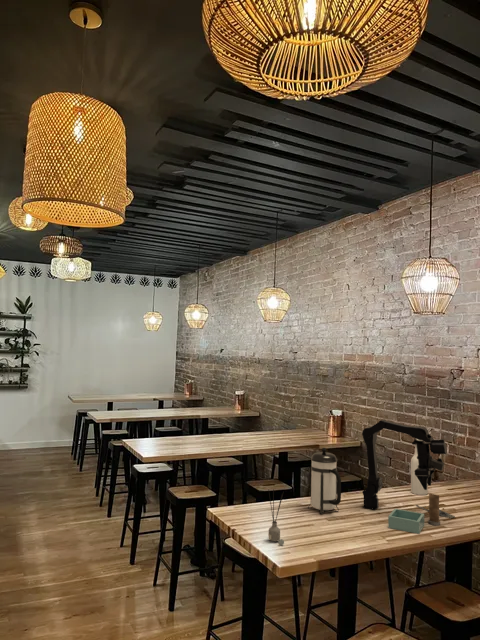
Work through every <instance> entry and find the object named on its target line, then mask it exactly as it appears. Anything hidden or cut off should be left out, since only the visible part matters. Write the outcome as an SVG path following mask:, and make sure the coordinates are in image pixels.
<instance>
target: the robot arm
mask: <svg viewBox="0 0 480 640" xmlns="http://www.w3.org/2000/svg"><path fill="white" fill-rule="evenodd" d="M383 429H385V430H389V431H392V432H398V433H400V434H401V433H402V434H405V435H408V436H409V437H412V438H414V440H413V442H411V445H415V444H416V446H417V455H418V456H417V459H418V463H419V465H418V468H417V469H416V470H415V475H416V477H417V478H418V480H419V481H420V483H421V485H422V486H423V488H424V490H427V484H428V486H430V487H431V486H432V480H433V479H432V478H433V473H434V472H436V470H438V471H440V472H442V471H443V470H444V466H445V461H444V460H443V458H440V457H439V458H438V459H434V458H433V456H432V455H431V453H432V454H433V455H447V453H448V446H447V445H446V440H445V439H444V438H441V439H434V438H433V436H431V434H430V433H429V430H428V428H426V426H421V425H420V426H417V425H406V424H402V423H397V422H393V421H389V420H386V419H382V420H379V421H378V422H377V423H375V424H373V425H371V426H368V427H366V428H364V429H363V430H362V432H361V433H362V434H361V436H362V439H363V442H364V445H365V447H366V457H367V467H368V477H367V483H366V488H365V489H363V490H362V492H361V493H362V496H363V505H362V508H364V509H369V510H374V511H375V510H377V509H378V508H379V501H380V500H379V498H378V493H379V492H380V491H381V490H382V489H383V486H384V484H383V476H380V475H379V471H378V470H379V469H378V463H377V462H378V461H377V460H378V459H377V449H376V443H377V439H378V433H379V432H381V431H382V430H383ZM417 439H418V440H423V441H418V440H417Z"/></svg>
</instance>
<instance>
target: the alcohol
mask: <svg viewBox="0 0 480 640" xmlns="http://www.w3.org/2000/svg"><path fill="white" fill-rule="evenodd" d="M417 440H418V439H417ZM418 441H423V440H418ZM414 445H415V447H414V454H413V456H412V457H411V459H410V491H411V492H410V493H412V494H414V495H417V496H427V494H429V491H428V490H429V488H428V486H429V485H428V484H427V490H424V488H423V486H422V485H421V483H420V481H419V480H418V478H417V477H416V475H415V470H416V469H417V468H418V465H419V463H418V459H417V456H418V455H417V446H416V444H414Z"/></svg>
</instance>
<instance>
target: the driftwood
mask: <svg viewBox="0 0 480 640" xmlns="http://www.w3.org/2000/svg"><path fill="white" fill-rule="evenodd" d="M415 506H416V507H417V508H420V509H422V510H424V511H427V512H429V506H427V505H424V507H423V506H419V505H418V504H415ZM426 507H427V508H428V509H426ZM439 517H442V518H447V519H449V520H451V519H452V518H456V516H455V515H453V514H450V513H448V512H446V511H444V510H441V509H439Z"/></svg>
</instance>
